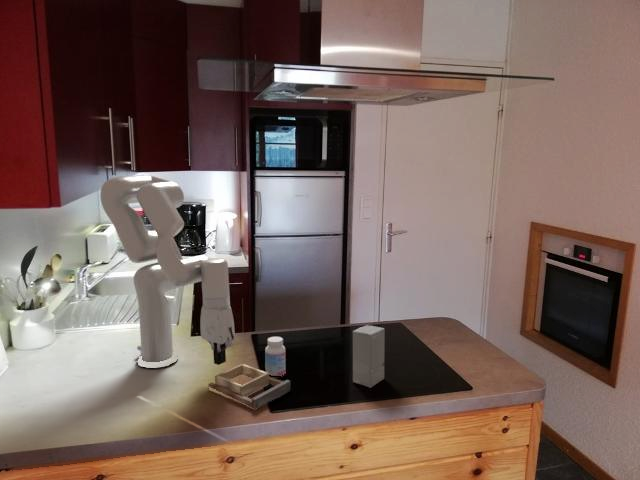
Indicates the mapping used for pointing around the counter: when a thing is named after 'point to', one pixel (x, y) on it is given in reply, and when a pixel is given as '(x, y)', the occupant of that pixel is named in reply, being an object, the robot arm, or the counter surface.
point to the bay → (262, 398)
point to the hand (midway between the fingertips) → (220, 362)
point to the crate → (257, 383)
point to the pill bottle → (275, 357)
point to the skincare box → (368, 355)
